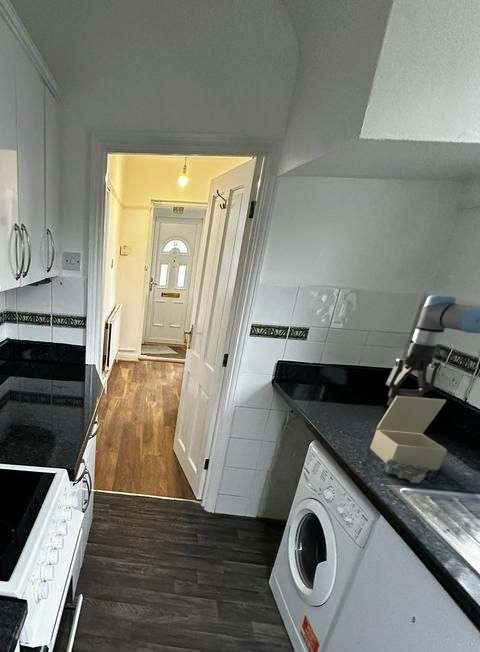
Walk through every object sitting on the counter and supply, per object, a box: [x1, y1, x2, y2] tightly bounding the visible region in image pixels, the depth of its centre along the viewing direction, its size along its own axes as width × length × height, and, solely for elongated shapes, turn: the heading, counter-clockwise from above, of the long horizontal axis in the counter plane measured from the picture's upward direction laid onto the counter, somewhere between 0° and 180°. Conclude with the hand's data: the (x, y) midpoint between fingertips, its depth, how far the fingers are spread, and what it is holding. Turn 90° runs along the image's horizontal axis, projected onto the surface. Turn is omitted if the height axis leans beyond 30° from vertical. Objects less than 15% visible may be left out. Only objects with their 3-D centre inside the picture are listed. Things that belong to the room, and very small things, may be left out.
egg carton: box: [383, 459, 429, 484], centre depth 133 cm, size 11×8×4 cm
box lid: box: [376, 388, 447, 434], centre depth 146 cm, size 14×16×8 cm
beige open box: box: [369, 429, 448, 471], centre depth 144 cm, size 14×16×8 cm
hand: (401, 407), depth 148 cm, fingers closed on box lid, 7 cm apart
